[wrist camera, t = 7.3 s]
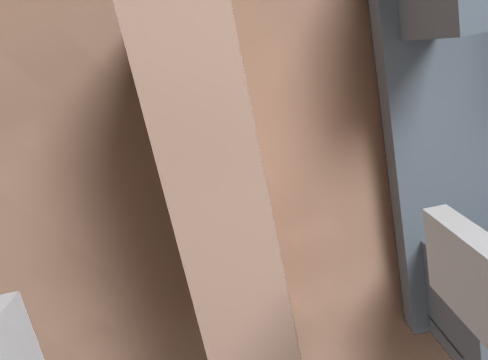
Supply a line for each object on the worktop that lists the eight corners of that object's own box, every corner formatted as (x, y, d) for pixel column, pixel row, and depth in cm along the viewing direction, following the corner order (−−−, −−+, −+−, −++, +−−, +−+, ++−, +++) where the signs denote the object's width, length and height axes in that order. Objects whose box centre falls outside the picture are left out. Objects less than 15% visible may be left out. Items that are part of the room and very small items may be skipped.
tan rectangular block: (225, 330, 30) (229, 442, 21) (145, 7, 25) (108, -17, 16) (285, 317, 30) (314, 424, 21) (219, -8, 25) (222, -40, 16)
